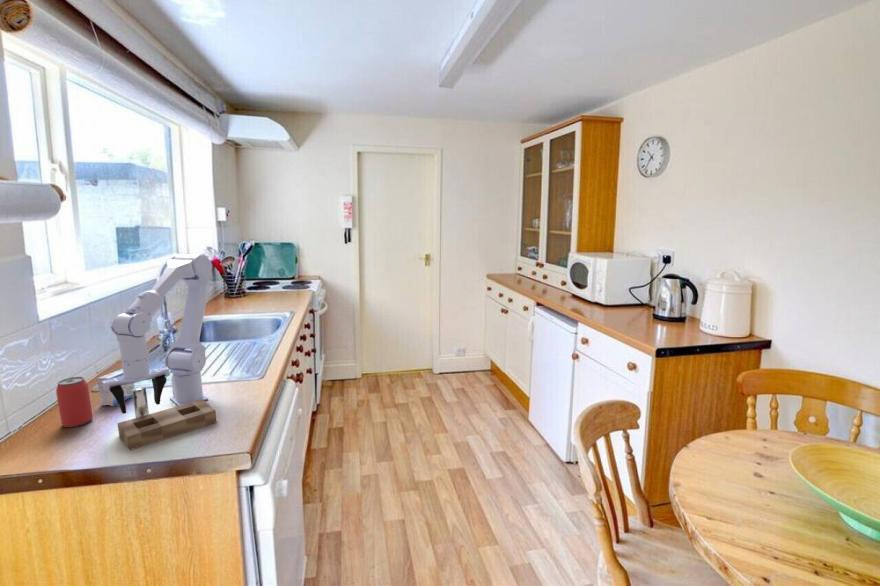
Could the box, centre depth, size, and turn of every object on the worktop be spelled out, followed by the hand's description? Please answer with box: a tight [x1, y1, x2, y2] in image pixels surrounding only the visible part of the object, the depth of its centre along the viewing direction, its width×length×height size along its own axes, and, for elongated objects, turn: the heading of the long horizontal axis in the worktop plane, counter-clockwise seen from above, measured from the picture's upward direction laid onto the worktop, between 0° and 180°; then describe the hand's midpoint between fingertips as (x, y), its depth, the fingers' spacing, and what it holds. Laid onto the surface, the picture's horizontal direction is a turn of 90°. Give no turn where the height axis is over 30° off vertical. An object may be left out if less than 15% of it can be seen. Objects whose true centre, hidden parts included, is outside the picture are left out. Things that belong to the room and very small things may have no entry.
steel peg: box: [132, 386, 150, 418], centre depth 119 cm, size 3×3×10 cm
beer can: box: [55, 376, 94, 428], centre depth 120 cm, size 7×7×12 cm
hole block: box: [116, 400, 217, 451], centre depth 117 cm, size 10×20×4 cm, turn 136°
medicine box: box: [96, 368, 136, 407], centre depth 134 cm, size 8×4×9 cm, turn 168°
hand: (141, 407), depth 119 cm, fingers open, 7 cm apart
